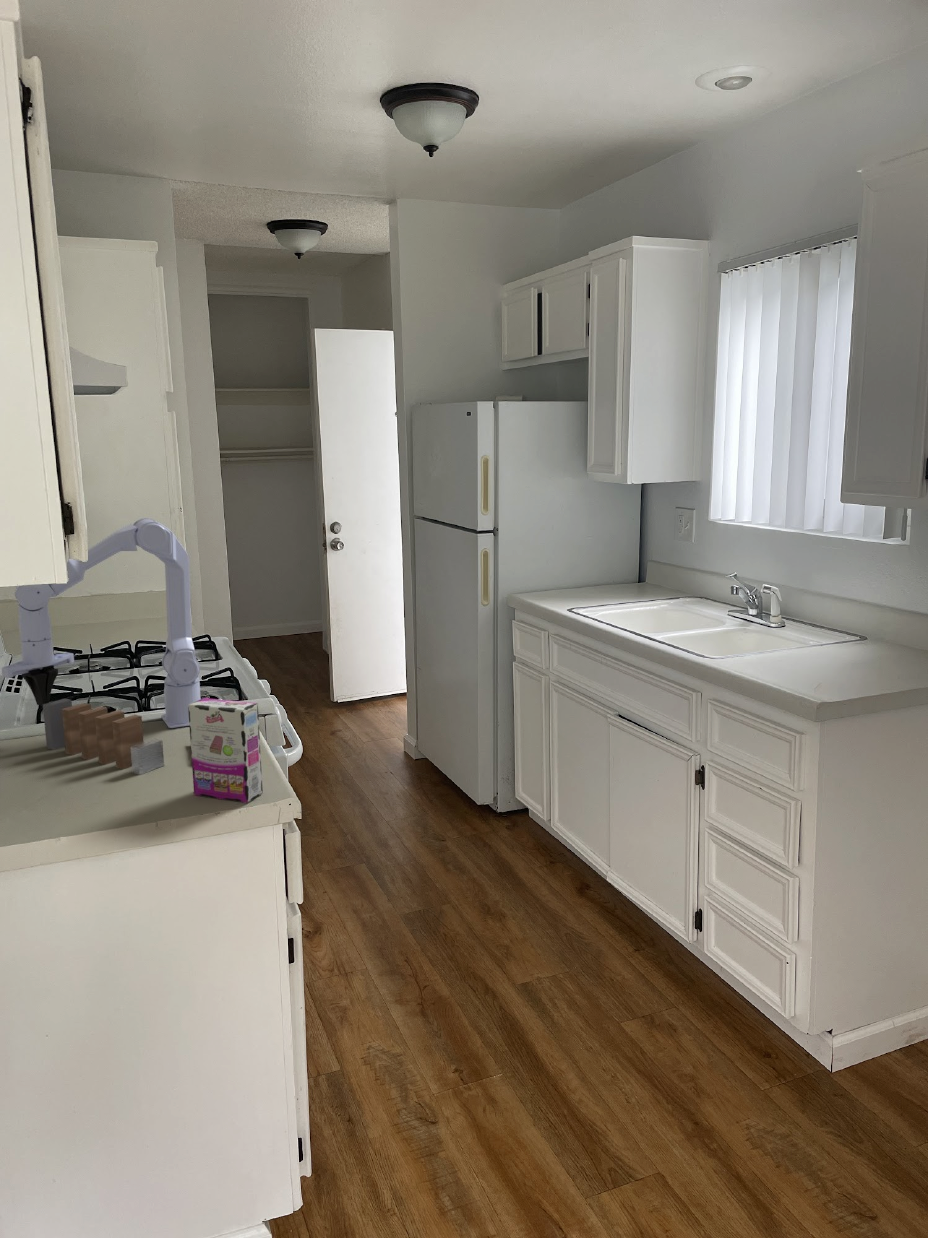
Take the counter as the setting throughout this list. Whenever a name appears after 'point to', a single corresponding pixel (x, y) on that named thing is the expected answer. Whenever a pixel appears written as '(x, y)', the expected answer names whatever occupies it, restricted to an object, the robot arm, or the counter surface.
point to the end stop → (147, 756)
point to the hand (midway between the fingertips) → (42, 704)
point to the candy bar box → (225, 749)
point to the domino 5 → (126, 739)
